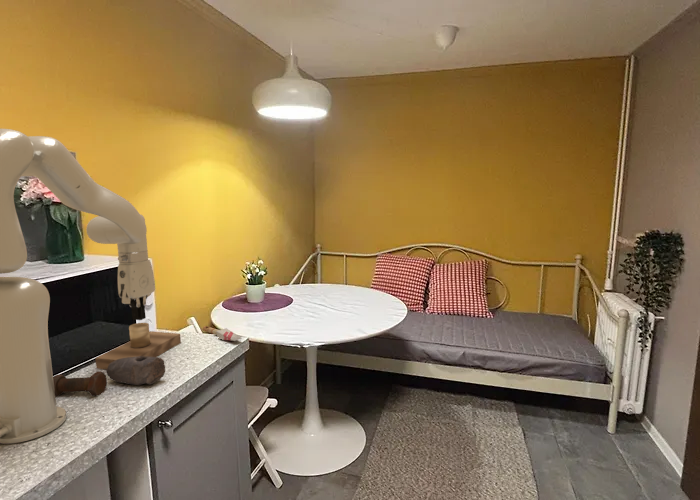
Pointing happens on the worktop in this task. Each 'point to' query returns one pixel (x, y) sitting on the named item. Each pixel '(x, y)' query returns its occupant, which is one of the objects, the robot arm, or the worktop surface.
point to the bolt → (81, 384)
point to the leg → (139, 335)
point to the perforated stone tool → (136, 370)
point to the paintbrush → (222, 333)
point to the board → (140, 349)
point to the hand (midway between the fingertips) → (139, 318)
